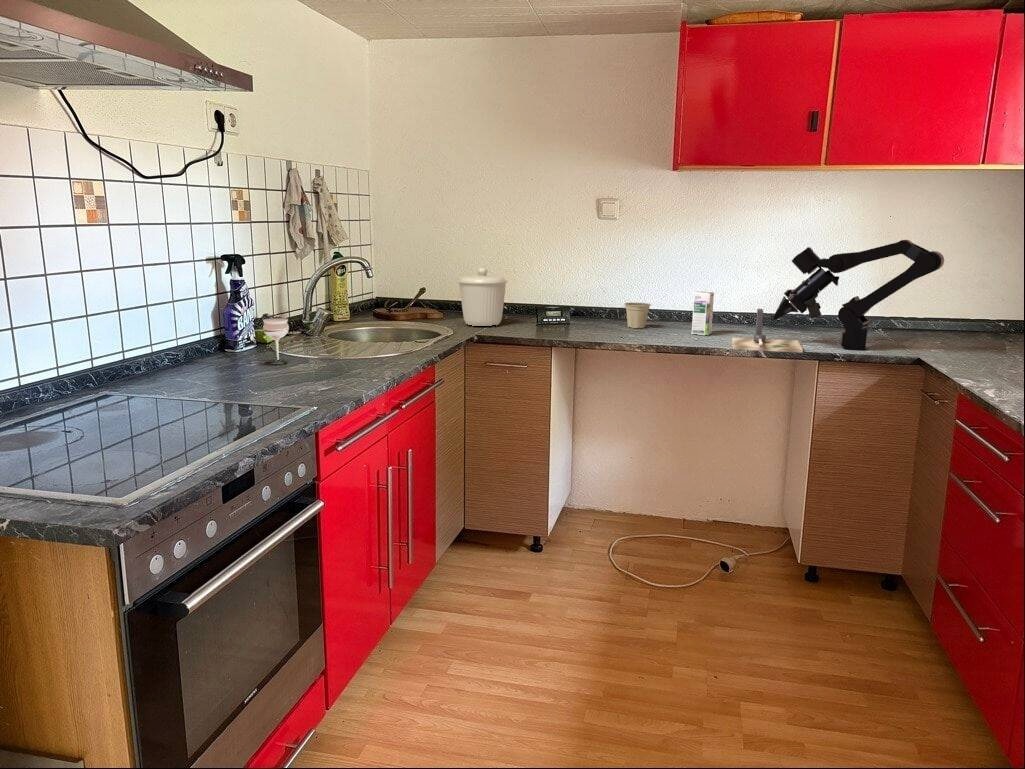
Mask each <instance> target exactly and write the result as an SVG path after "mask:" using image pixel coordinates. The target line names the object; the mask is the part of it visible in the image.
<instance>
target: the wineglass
mask: <svg viewBox="0 0 1025 769" xmlns="http://www.w3.org/2000/svg"><path fill="white" fill-rule="evenodd" d="M262 321H263V326H262V330H263V333H264V334H265V335H267V337H268V338H271V339H273V340H274V341H275V349H276V350H275V351H276V361H277V360H280V355H279V354H280V353H279V352H280V351H279V349H280V348H279V345H280V344H279V341H280V340H281V339H282V338H283V337H285V336H286V335H287V334H288V333H289V329H290V325H289V323H288V321H289V319H288V318H284V317H283V318H282V317H274V318H273V317H272V318H265V319H262Z"/></svg>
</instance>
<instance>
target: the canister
mask: <svg viewBox="0 0 1025 769" xmlns="http://www.w3.org/2000/svg"><path fill="white" fill-rule="evenodd" d="M457 282H458V284H459V291H460V292H459V293H460V299H461V300H460V301H461V302H460V303H461V308H462V315H463V320H464V323H465V324H466V325H467V324H468V325H467V326H469V325H472V326H471V327H473V326H492V325H496V326H498V325H500V323H501V322H502V318H503V313H504V302H505V296H506V294H505V293H506V285H507V283H508V279H505V278H504V277H503V276H501V275H493V274H491V275H490V274H488V269H487V268H486V267H479V268H478V269H477V274H472V275H464V276H462V277H461V278H460V279H458V280H457ZM492 327H493V326H492Z"/></svg>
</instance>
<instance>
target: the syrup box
mask: <svg viewBox="0 0 1025 769" xmlns="http://www.w3.org/2000/svg"><path fill="white" fill-rule="evenodd" d="M714 300H715V291H695V292H693V300H692V301H693V302H692V321H691V322H692V323H691V335H692V334H697V336H705V335H708V336H709V334H710V335H711V334H712V328H713V327H712V326H713V316H714V314H713V313H714V312H713V311H714Z"/></svg>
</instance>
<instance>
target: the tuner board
mask: <svg viewBox="0 0 1025 769" xmlns="http://www.w3.org/2000/svg"><path fill="white" fill-rule="evenodd" d="M731 340H732V343H731V344H732V349H733V350H740V351H761V352H762V351H764V352H778V353H779V352H783V353H785V352H786V353H804V352H803V350H804V349H803V347H802V345H801V343H800V342H799V341H798V340H796V339H794V340H793V339H777V338H776V339H773V338H772V339H771V338H766V341H765V342H763V345H759V342H754V341H753V340H754V337H753V338H748V337H732V338H731Z"/></svg>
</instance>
